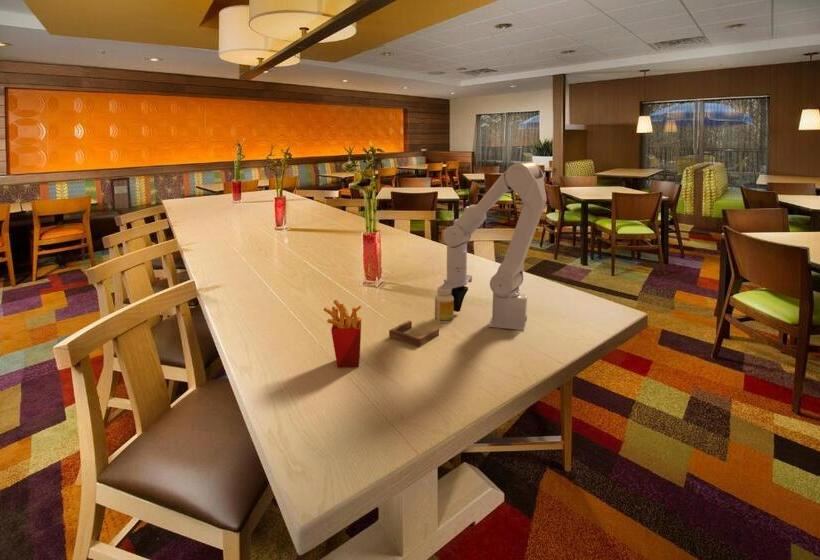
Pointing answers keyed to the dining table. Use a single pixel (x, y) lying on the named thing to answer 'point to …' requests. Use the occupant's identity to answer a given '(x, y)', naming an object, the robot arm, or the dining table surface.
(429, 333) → the brown wooden u-shaped frame
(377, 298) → the dining table surface
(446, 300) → the supplement bottle
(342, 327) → the french fries
